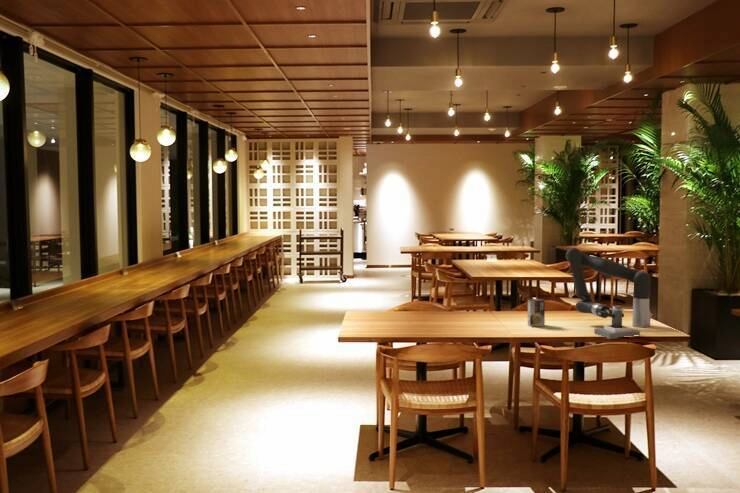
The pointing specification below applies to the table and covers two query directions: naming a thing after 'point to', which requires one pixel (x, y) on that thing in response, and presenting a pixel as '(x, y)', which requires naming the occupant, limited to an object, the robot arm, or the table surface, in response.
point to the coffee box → (536, 312)
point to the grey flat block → (615, 332)
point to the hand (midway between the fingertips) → (618, 315)
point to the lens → (617, 317)
